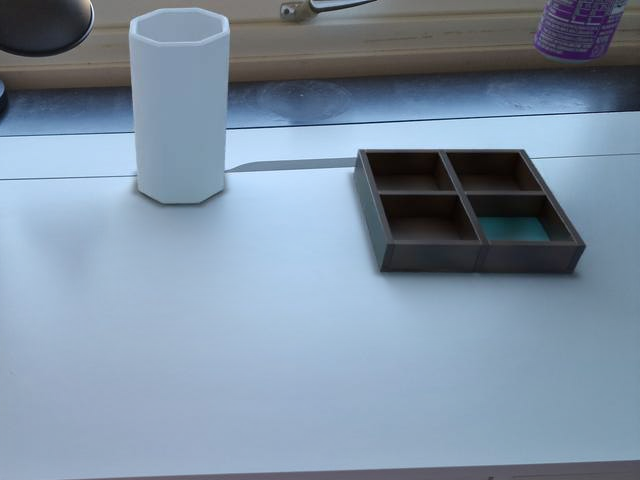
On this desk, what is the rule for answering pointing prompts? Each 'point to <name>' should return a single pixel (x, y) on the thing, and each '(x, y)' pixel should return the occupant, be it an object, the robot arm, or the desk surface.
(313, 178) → the desk surface
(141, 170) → the cup
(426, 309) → the desk surface
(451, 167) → the grid
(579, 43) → the beverage can
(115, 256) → the desk surface
